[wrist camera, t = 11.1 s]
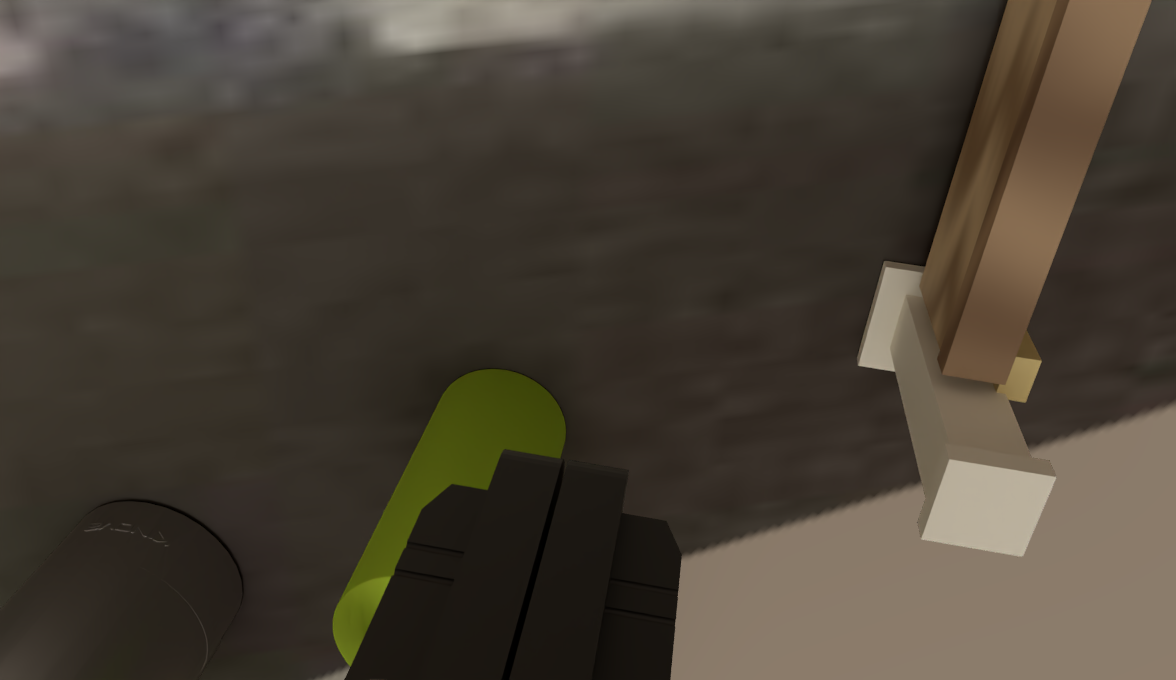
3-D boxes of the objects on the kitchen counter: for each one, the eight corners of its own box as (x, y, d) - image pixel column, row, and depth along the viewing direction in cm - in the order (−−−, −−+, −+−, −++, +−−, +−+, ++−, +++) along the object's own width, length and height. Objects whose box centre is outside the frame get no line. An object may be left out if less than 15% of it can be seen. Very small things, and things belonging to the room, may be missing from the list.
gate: (967, 294, 38) (1005, 385, 32) (913, 285, 38) (941, 374, 32) (1123, -166, 30) (1209, -152, 24) (1055, -175, 30) (1124, -163, 24)
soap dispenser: (459, 331, 43) (260, 707, 25) (591, 417, 44) (487, 833, 27) (394, 419, 46) (176, 813, 28) (521, 499, 47) (386, 922, 29)
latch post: (966, 375, 40) (1038, 578, 30) (856, 358, 41) (891, 552, 30) (1003, 268, 38) (1095, 449, 28) (886, 251, 38) (935, 423, 28)
